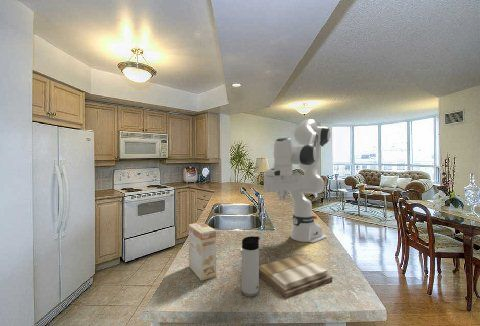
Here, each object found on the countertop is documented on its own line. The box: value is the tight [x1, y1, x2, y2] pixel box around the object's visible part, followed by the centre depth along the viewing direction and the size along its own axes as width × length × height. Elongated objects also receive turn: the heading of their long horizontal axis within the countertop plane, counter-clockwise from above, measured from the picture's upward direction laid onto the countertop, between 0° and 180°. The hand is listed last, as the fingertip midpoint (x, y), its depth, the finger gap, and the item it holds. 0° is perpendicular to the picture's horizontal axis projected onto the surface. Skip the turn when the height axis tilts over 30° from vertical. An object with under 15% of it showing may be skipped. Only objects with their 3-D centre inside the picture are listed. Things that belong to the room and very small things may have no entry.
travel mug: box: [241, 235, 261, 298], centre depth 83 cm, size 6×7×20 cm
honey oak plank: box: [259, 254, 313, 279], centre depth 98 cm, size 22×8×2 cm, turn 118°
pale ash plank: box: [272, 261, 328, 290], centre depth 90 cm, size 22×8×2 cm, turn 118°
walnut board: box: [259, 267, 334, 299], centre depth 94 cm, size 24×20×2 cm
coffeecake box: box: [188, 222, 217, 282], centre depth 98 cm, size 15×7×20 cm, turn 32°
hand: (282, 200), depth 109 cm, fingers closed
